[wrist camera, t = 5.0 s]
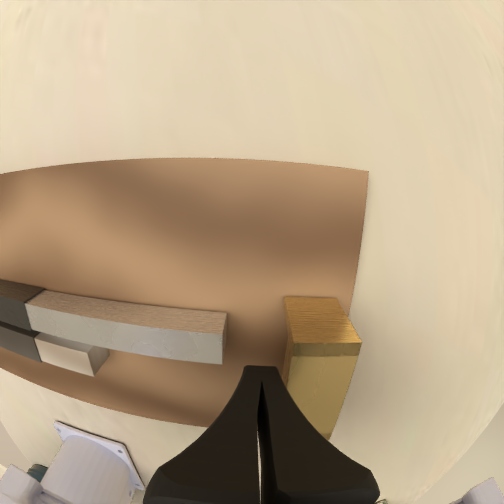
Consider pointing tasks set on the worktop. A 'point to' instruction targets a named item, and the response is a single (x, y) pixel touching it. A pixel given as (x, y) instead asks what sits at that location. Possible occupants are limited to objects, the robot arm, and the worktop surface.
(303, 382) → the wooden u-shaped block
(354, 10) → the worktop surface
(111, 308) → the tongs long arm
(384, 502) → the syrup box
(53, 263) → the tong board
